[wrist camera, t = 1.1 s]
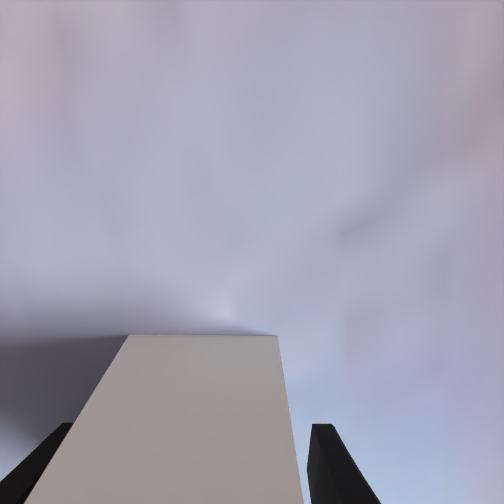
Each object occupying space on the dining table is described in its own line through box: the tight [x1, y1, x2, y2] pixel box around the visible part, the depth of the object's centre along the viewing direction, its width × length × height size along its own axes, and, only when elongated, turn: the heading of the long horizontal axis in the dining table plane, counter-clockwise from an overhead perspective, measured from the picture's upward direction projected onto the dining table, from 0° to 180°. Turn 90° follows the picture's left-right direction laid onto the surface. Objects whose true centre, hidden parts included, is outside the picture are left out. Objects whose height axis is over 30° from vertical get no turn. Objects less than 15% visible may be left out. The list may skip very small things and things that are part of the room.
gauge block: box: [24, 334, 304, 504], centre depth 9 cm, size 6×5×6 cm
